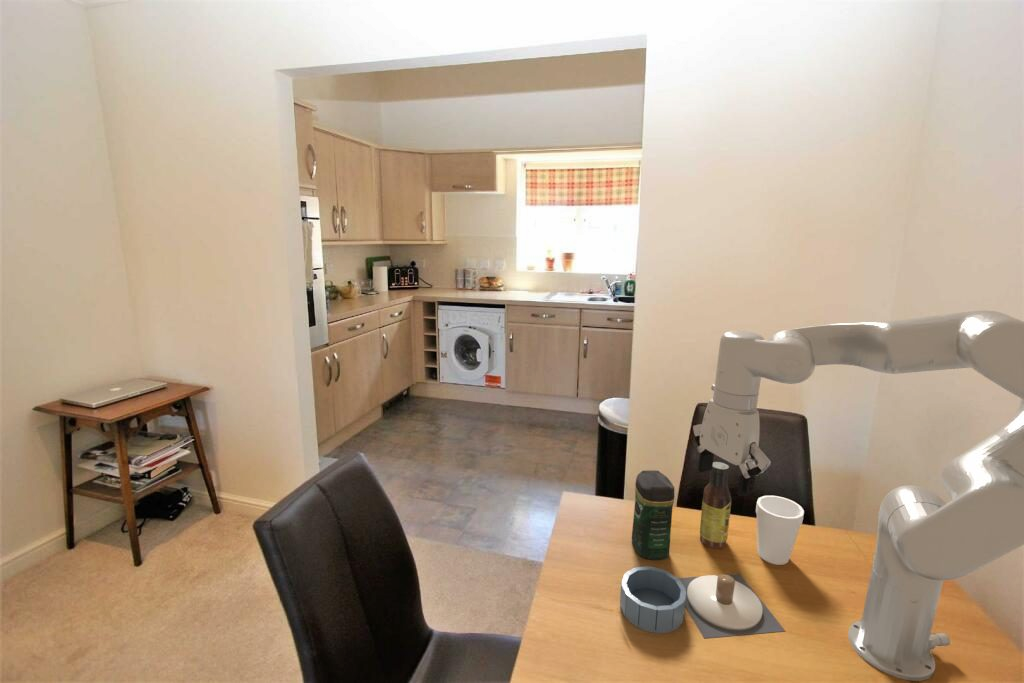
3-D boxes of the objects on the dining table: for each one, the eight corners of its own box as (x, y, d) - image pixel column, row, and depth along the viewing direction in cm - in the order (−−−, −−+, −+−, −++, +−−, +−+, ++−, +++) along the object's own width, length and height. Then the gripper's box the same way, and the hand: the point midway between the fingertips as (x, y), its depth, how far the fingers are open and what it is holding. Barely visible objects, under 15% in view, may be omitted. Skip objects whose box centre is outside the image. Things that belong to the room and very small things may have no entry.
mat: (739, 575, 112) (739, 573, 111) (785, 632, 96) (785, 630, 96) (669, 580, 110) (669, 578, 110) (704, 639, 94) (704, 638, 94)
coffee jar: (673, 561, 116) (680, 487, 112) (639, 562, 116) (644, 488, 111) (659, 535, 125) (665, 466, 121) (627, 536, 125) (632, 467, 121)
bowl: (668, 587, 108) (670, 564, 106) (694, 631, 96) (696, 607, 95) (613, 591, 106) (614, 568, 105) (632, 637, 95) (634, 612, 94)
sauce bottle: (729, 551, 119) (738, 474, 115) (700, 548, 121) (709, 471, 116) (723, 535, 126) (732, 461, 121) (696, 531, 127) (704, 458, 122)
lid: (737, 576, 110) (740, 554, 109) (777, 627, 97) (781, 602, 96) (675, 581, 109) (677, 559, 108) (707, 633, 95) (709, 608, 94)
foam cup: (802, 573, 112) (810, 520, 109) (757, 568, 114) (764, 516, 111) (786, 546, 121) (794, 497, 118) (745, 542, 123) (752, 493, 120)
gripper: (685, 386, 100) (677, 465, 104) (760, 418, 85) (747, 509, 89) (713, 382, 103) (704, 459, 108) (791, 411, 88) (776, 500, 92)
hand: (723, 482), depth 98 cm, fingers open, 9 cm apart
